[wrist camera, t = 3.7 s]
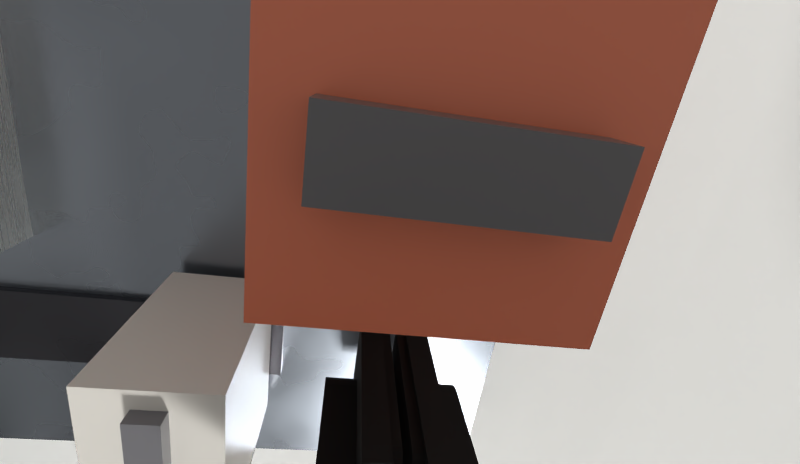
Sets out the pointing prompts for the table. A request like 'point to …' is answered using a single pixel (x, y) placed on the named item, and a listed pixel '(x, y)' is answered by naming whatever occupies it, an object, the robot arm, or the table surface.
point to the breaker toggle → (176, 380)
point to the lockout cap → (455, 160)
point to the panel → (139, 202)
